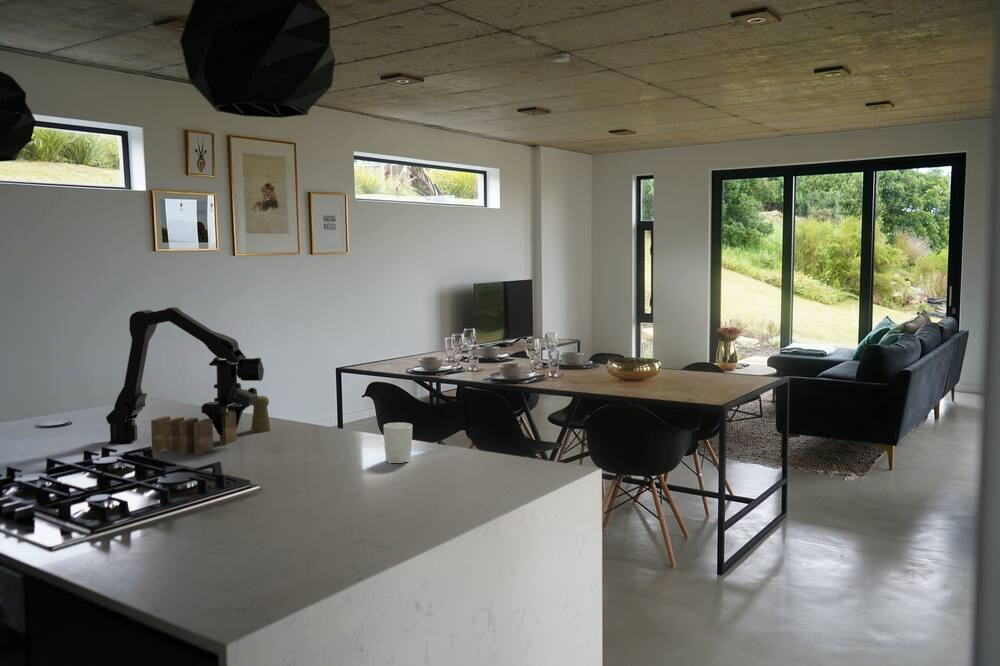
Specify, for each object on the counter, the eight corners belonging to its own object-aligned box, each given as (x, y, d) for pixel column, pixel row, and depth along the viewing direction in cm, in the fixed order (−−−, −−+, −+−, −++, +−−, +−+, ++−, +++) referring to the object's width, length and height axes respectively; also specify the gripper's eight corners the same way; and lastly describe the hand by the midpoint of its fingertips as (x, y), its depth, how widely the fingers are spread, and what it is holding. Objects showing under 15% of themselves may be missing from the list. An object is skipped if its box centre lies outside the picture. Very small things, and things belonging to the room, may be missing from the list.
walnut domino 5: (219, 444, 236) (219, 414, 235) (230, 439, 242) (230, 410, 241) (226, 444, 236) (225, 414, 235) (236, 440, 241) (236, 411, 241)
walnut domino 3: (180, 453, 225) (179, 422, 224) (192, 448, 231) (191, 417, 230) (186, 453, 225) (185, 422, 224) (199, 448, 230) (198, 418, 230)
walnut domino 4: (194, 454, 224) (193, 422, 223) (206, 449, 230) (206, 418, 229) (201, 454, 224) (200, 423, 223) (213, 449, 229) (212, 419, 229)
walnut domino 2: (166, 452, 226) (165, 421, 225) (178, 447, 232) (178, 417, 231) (172, 452, 225) (171, 421, 225) (185, 447, 231) (184, 417, 230)
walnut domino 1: (152, 451, 227) (151, 420, 226) (165, 446, 233) (164, 416, 232) (158, 451, 226) (157, 420, 225) (171, 447, 232) (170, 416, 231)
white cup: (377, 462, 217) (377, 426, 216) (394, 456, 224) (394, 421, 223) (401, 466, 214) (401, 429, 213) (418, 459, 221) (418, 424, 220)
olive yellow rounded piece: (267, 432, 252) (266, 398, 251) (248, 432, 252) (247, 397, 251) (273, 428, 258) (272, 394, 257) (254, 428, 258) (253, 394, 257)
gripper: (235, 386, 226) (236, 440, 228) (267, 377, 244) (268, 427, 246) (199, 384, 228) (200, 438, 230) (234, 375, 247) (235, 425, 248)
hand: (228, 432), depth 238 cm, fingers open, 8 cm apart
